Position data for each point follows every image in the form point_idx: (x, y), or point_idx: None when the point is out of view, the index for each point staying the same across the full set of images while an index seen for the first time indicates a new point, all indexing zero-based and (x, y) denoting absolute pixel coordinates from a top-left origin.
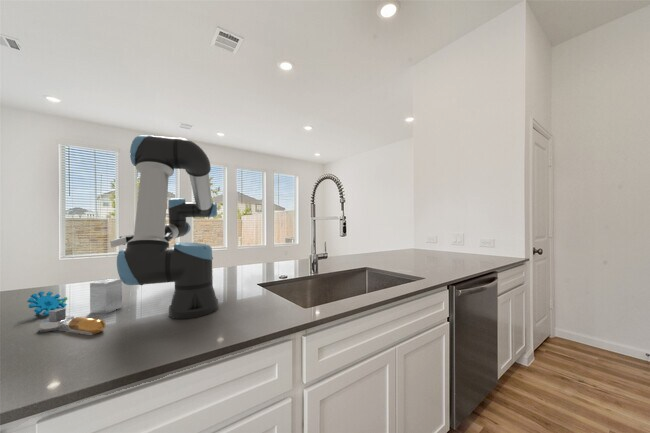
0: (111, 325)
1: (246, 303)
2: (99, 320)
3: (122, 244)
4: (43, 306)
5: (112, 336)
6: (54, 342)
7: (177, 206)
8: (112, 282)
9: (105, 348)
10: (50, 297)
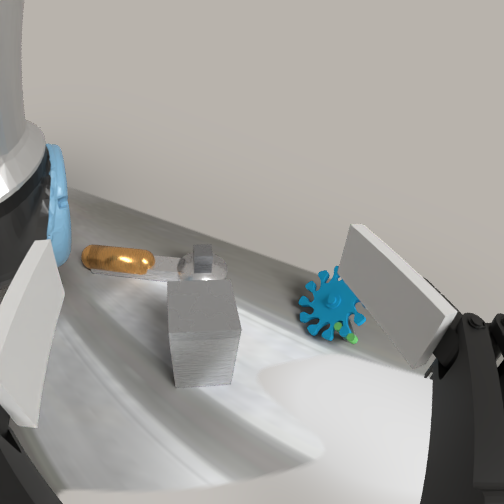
0: (94, 290)
1: None
2: (86, 248)
3: (388, 333)
4: (318, 292)
5: None
6: (135, 242)
7: None
8: (168, 302)
9: None
10: (349, 303)
